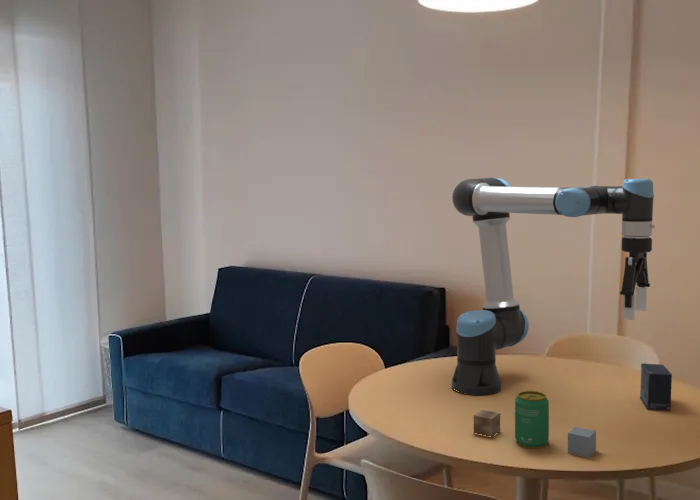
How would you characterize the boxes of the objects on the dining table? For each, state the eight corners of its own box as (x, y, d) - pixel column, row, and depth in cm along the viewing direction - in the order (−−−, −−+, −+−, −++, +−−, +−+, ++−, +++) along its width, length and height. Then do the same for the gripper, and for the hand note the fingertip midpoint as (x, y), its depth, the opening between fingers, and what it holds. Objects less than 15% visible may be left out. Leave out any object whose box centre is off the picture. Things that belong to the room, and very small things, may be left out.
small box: (672, 411, 190) (673, 374, 189) (647, 410, 191) (647, 373, 190) (663, 399, 200) (664, 363, 199) (639, 398, 202) (639, 362, 201)
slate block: (567, 453, 164) (567, 433, 164) (574, 446, 168) (575, 426, 167) (589, 458, 161) (589, 437, 161) (595, 450, 165) (596, 430, 164)
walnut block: (473, 434, 178) (473, 415, 177) (482, 428, 182) (482, 409, 181) (491, 438, 175) (491, 418, 174) (500, 432, 179) (500, 413, 178)
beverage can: (554, 441, 171) (554, 394, 170) (538, 451, 165) (538, 402, 164) (525, 434, 177) (525, 388, 175) (508, 443, 171) (508, 396, 169)
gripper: (641, 241, 174) (638, 325, 176) (661, 233, 194) (659, 308, 196) (609, 240, 178) (608, 321, 180) (633, 232, 198) (631, 305, 201)
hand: (634, 314), depth 188 cm, fingers open, 13 cm apart
